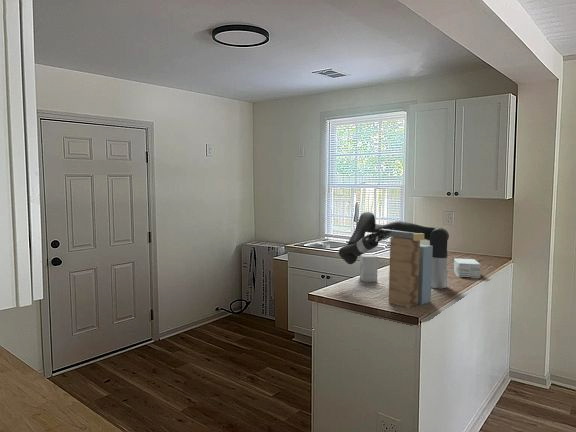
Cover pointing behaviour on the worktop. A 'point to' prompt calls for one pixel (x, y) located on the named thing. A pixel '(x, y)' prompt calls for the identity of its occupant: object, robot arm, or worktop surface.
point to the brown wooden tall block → (404, 271)
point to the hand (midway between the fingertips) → (388, 230)
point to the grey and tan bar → (403, 234)
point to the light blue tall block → (425, 274)
